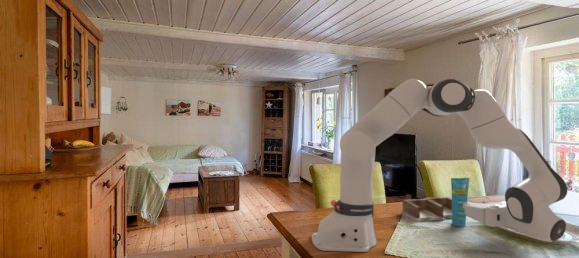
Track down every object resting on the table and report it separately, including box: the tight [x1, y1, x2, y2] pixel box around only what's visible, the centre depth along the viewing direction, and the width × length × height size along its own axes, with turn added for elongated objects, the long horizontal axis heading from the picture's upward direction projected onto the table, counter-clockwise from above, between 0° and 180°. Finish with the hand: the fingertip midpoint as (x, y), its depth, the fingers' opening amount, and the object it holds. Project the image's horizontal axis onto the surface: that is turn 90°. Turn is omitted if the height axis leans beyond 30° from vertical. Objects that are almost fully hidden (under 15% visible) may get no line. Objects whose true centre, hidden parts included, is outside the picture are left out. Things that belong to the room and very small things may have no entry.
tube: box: [450, 177, 470, 228], centre depth 129 cm, size 7×5×19 cm, turn 98°
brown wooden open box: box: [402, 198, 444, 222], centre depth 140 cm, size 12×12×6 cm
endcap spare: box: [422, 196, 452, 219], centre depth 144 cm, size 12×12×6 cm
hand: (474, 204), depth 122 cm, fingers open, 8 cm apart
